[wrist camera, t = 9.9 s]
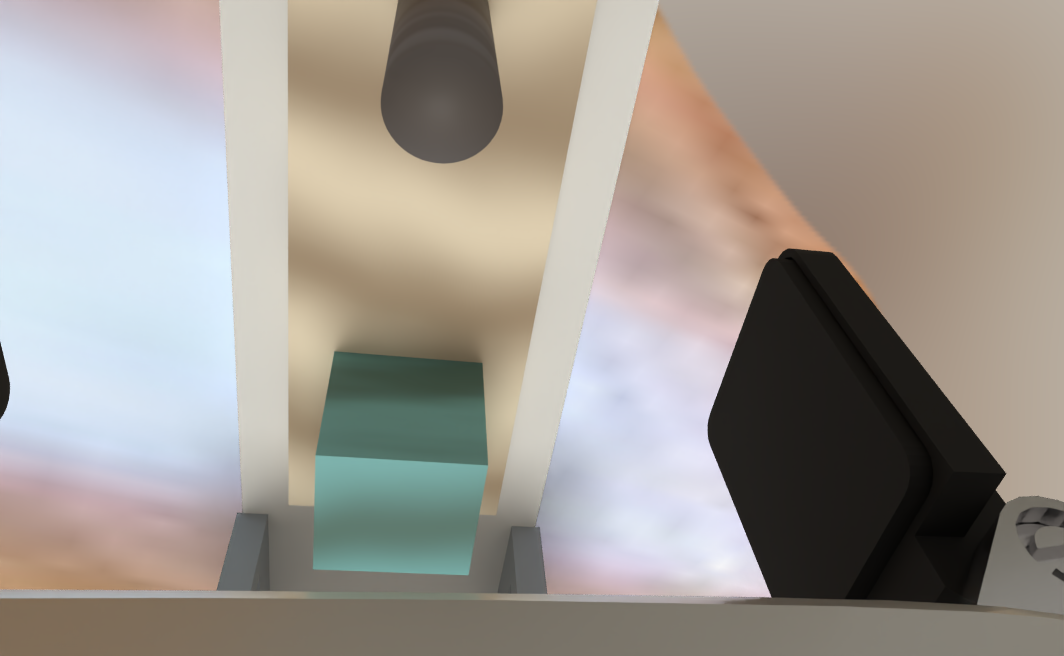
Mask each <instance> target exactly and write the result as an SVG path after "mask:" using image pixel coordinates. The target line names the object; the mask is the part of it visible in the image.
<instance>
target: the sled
mask: <svg viewBox="0 0 1064 656" xmlns="http://www.w3.org/2000/svg"><path fill="white" fill-rule="evenodd" d="M596 4H597V0H288V466H289V505H297V506H314V541H313V569H316V570H342V571H368V572H394V573H420V574H446V575H469V569H470V564H471V558H472V553H473V547H474V542H475V536H476V531H477V525H478V519H479V515H496V514H497V509H498V503H499V498H500V493H501V488H502V483H503V478H504V473H505V468H506V463H507V458H508V453H509V447H510V442H511V437H512V432H513V427H514V422H515V417H516V412H517V407H518V402H519V396H520V391H521V386H522V381H523V376H524V371H525V366H526V361H527V356H528V351H529V346H530V340H531V335H532V330H533V325H534V320H535V315H536V310H537V305H538V300H539V295H540V290H541V284H542V279H543V274H544V269H545V264H546V259H547V254H548V249H549V244H550V239H551V233H552V228H553V223H554V218H555V213H556V208H557V203H558V198H559V193H560V188H561V183H562V177H563V172H564V167H565V162H566V157H567V152H568V147H569V142H570V137H571V132H572V126H573V121H574V116H575V111H576V106H577V101H578V96H579V91H580V86H581V81H582V76H583V70H584V65H585V60H586V55H587V50H588V45H589V40H590V35H591V30H592V25H593V19H594V14H595V9H596Z"/></svg>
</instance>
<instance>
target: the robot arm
mask: <svg viewBox="0 0 1064 656" xmlns="http://www.w3.org/2000/svg"><path fill="white" fill-rule="evenodd" d="M9 394H10V382H9V376H8V372H7V368H6V364H5V360H4V355H3V351H2V347H1V343H0V419H1V417H2V416H3V414H4V412H5V410H6V408H7V404H8V401H9ZM708 439H709V443H710V446H711V448H712V451H713V453H714V456H715V458H716V461H717V463H718V466H719V468H720V471H721V473H722V476H723V478H724V481H725V483H726V486H727V488H728V490H729V493H730V495H731V498H732V500H733V503H734V505H735V508H736V510H737V513H738V515H739V518H740V520H741V523H742V525H743V528H744V530H745V533H746V535H747V537H748V540H749V542H750V545H751V547H752V550H753V552H754V555H755V557H756V560H757V562H758V565H759V567H760V570H761V572H762V575H763V577H764V580H765V582H766V585H767V587H768V589H769V592H770V594H771V597H772V598H767V597H704V596H641V595H579V594H501V593H413V592H310V591H183V590H0V656H1064V502H1062V501H1059V500H1054V499H1049V498H1044V497H1039V496H1029V497H1018V498H1016V499H1014V500H1011V501H1009V502H1007V503H1005V502H1004V501H1003V499H1002V498H1001V497H1000V495H999V494H998V493H997V491H996V488H997V487H998V485H999V484H1000V482H1001V481H1002V479H1003V478H1004V476H1005V475H1006V473H1005V471H1004V470H1003V469H1002V468H1001V466H1000V465H999V464H998V462H997V461H996V460H995V459H994V457H993V456H992V455H991V453H990V452H989V451H988V450H987V448H986V447H985V446H984V445H983V443H982V442H981V441H980V439H979V438H978V437H977V436H976V434H975V433H974V432H973V430H972V429H971V428H970V427H969V426H968V424H967V423H966V421H965V420H964V419H963V418H962V416H961V415H960V414H959V413H958V411H957V410H956V409H955V407H954V406H953V405H952V404H951V403H950V401H949V400H948V398H947V397H946V396H945V395H944V393H943V392H942V391H941V390H940V388H939V387H938V386H937V384H936V383H935V382H934V381H933V379H932V378H931V377H930V375H929V374H928V373H927V372H926V370H925V369H924V368H923V366H922V365H921V364H920V363H919V361H918V360H917V359H916V357H915V356H914V355H913V354H912V352H911V351H910V350H909V349H908V347H907V346H906V345H905V343H904V342H903V341H902V340H901V338H900V337H899V336H898V335H897V333H896V332H895V331H894V329H893V328H892V327H891V325H890V324H889V323H888V322H887V320H886V319H885V318H884V316H883V315H882V314H881V313H880V311H879V310H878V309H877V308H876V306H875V305H874V304H873V302H872V301H871V300H870V299H869V297H868V296H867V295H866V293H865V292H864V291H863V290H862V288H861V287H860V286H859V284H858V283H857V282H856V281H855V279H854V278H853V277H852V276H851V274H850V273H849V272H848V270H847V269H846V268H845V267H844V265H843V264H842V263H841V261H840V260H839V259H838V258H837V256H835V255H834V254H833V253H831V252H822V251H811V250H800V249H787V250H785V251H783V252H782V254H781V255H780V256H779V258H778V259H776V258H772V259H770V260H769V261H768V262H767V263H766V265H765V267H764V269H763V272H762V274H761V277H760V280H759V282H758V285H757V288H756V291H755V293H754V296H753V299H752V301H751V304H750V307H749V310H748V312H747V315H746V318H745V320H744V323H743V326H742V329H741V331H740V334H739V337H738V340H737V342H736V345H735V348H734V350H733V353H732V356H731V359H730V361H729V364H728V367H727V369H726V372H725V375H724V378H723V380H722V383H721V386H720V388H719V391H718V394H717V397H716V399H715V402H714V405H713V407H712V410H711V413H710V416H709V420H708Z"/></svg>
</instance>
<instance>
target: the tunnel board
mask: <svg viewBox="0 0 1064 656" xmlns="http://www.w3.org/2000/svg"><path fill="white" fill-rule="evenodd" d="M658 3H659V0H597V4H596V9H595V14H594V19H593V25H592V30H591V35H590V40H589V45H588V50H587V55H586V60H585V65H584V70H583V76H582V81H581V86H580V91H579V96H578V101H577V106H576V111H575V116H574V121H573V126H572V132H571V137H570V142H569V147H568V152H567V157H566V162H565V167H564V172H563V177H562V183H561V188H560V193H559V198H558V203H557V208H556V213H555V218H554V223H553V228H552V233H551V239H550V244H549V249H548V254H547V259H546V264H545V269H544V274H543V279H542V284H541V290H540V295H539V300H538V305H537V310H536V315H535V320H534V325H533V330H532V335H531V340H530V346H529V351H528V356H527V361H526V366H525V371H524V376H523V381H522V386H521V391H520V396H519V402H518V407H517V412H516V417H515V422H514V427H513V432H512V437H511V442H510V447H509V453H508V458H507V463H506V468H505V473H504V478H503V483H502V488H501V493H500V498H499V503H498V509H497V514H496V515H479V519H478V525H477V531H476V536H475V542H474V547H473V553H472V558H471V564H470V569H469V575H446V574H420V573H394V572H368V571H342V570H316V569H313V541H314V506H297V505H289V466H288V0H219V7H220V29H221V51H222V73H223V95H224V117H225V139H226V161H227V183H228V205H229V227H230V249H231V271H232V292H233V314H234V336H235V358H236V380H237V402H238V424H239V446H240V468H241V490H242V512H243V513H237V516H236V520H235V524H234V527H233V531H232V535H231V539H230V542H229V546H228V550H227V554H226V557H225V561H224V565H223V568H222V572H221V576H220V580H219V583H218V587H217V591H310V592H413V593H501V594H547V588H546V579H545V571H544V562H543V553H542V545H541V536H540V528H539V527H535V524H536V520H537V516H538V512H539V507H540V503H541V499H542V495H543V491H544V486H545V482H546V478H547V474H548V469H549V465H550V461H551V457H552V452H553V448H554V444H555V440H556V435H557V431H558V427H559V423H560V418H561V414H562V410H563V406H564V401H565V397H566V393H567V389H568V385H569V380H570V376H571V372H572V368H573V363H574V359H575V355H576V351H577V346H578V342H579V338H580V334H581V329H582V325H583V321H584V317H585V312H586V308H587V304H588V300H589V295H590V291H591V287H592V283H593V279H594V274H595V270H596V266H597V262H598V257H599V253H600V249H601V245H602V240H603V236H604V232H605V228H606V223H607V219H608V215H609V211H610V206H611V202H612V198H613V194H614V189H615V185H616V181H617V177H618V173H619V168H620V164H621V160H622V156H623V151H624V147H625V143H626V139H627V134H628V130H629V126H630V122H631V117H632V113H633V109H634V105H635V100H636V96H637V92H638V88H639V84H640V79H641V75H642V71H643V67H644V62H645V58H646V54H647V50H648V45H649V41H650V37H651V33H652V28H653V24H654V20H655V16H656V11H657V7H658Z"/></svg>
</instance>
